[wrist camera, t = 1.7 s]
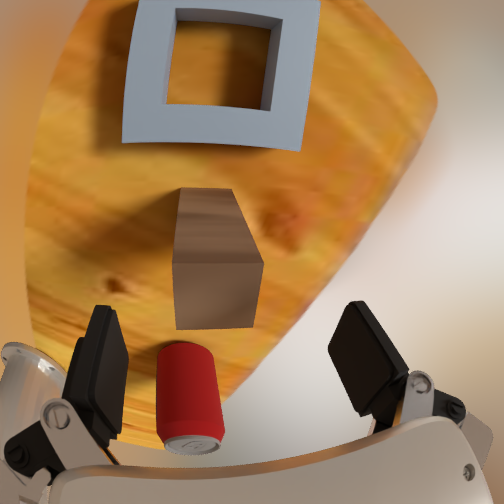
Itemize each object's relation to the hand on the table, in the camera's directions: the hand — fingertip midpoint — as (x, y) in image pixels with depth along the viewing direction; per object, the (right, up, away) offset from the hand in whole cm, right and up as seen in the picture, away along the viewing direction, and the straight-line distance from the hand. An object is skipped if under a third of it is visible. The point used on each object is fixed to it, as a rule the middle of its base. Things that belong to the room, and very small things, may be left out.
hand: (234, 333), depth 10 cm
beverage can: (-7, -9, +20) cm, 23 cm away
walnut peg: (-3, +6, +12) cm, 14 cm away
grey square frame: (-2, +17, +6) cm, 18 cm away
